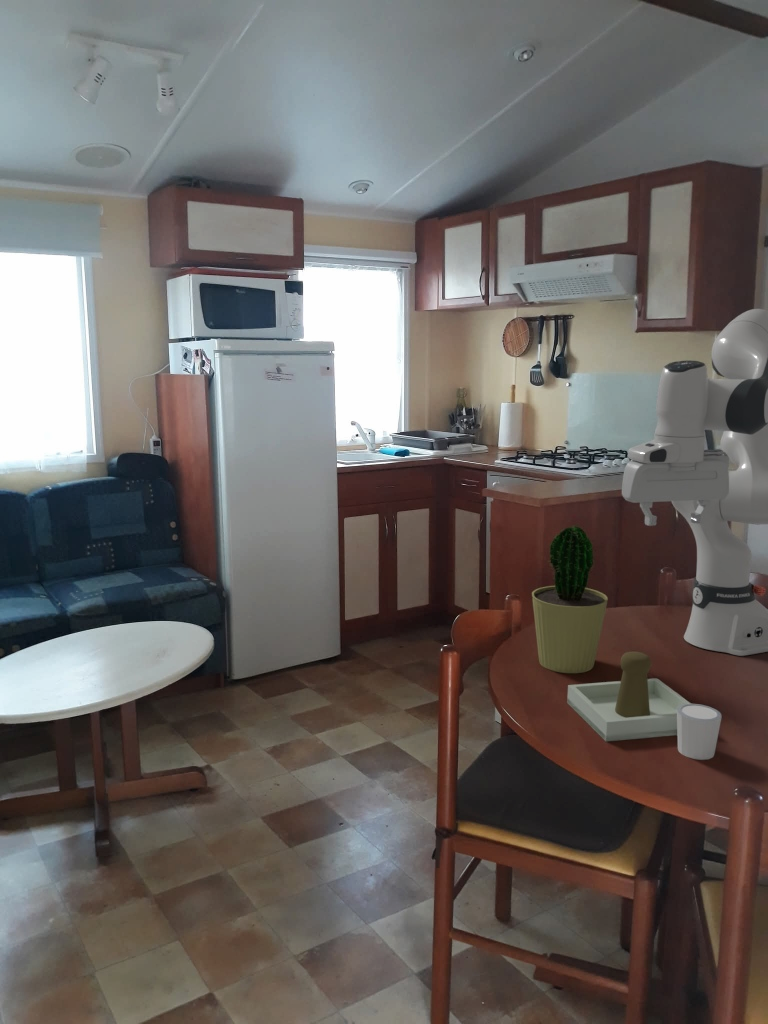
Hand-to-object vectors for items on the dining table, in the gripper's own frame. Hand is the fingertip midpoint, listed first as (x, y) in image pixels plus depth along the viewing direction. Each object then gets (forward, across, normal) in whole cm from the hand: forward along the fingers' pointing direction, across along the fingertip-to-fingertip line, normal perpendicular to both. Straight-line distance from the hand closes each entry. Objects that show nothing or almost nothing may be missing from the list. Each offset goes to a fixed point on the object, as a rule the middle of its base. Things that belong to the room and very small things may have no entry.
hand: (673, 523), depth 156 cm
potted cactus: (+33, +13, -16) cm, 39 cm away
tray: (+33, +12, +11) cm, 37 cm away
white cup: (+33, +8, +25) cm, 42 cm away
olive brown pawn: (+32, +12, +11) cm, 36 cm away
